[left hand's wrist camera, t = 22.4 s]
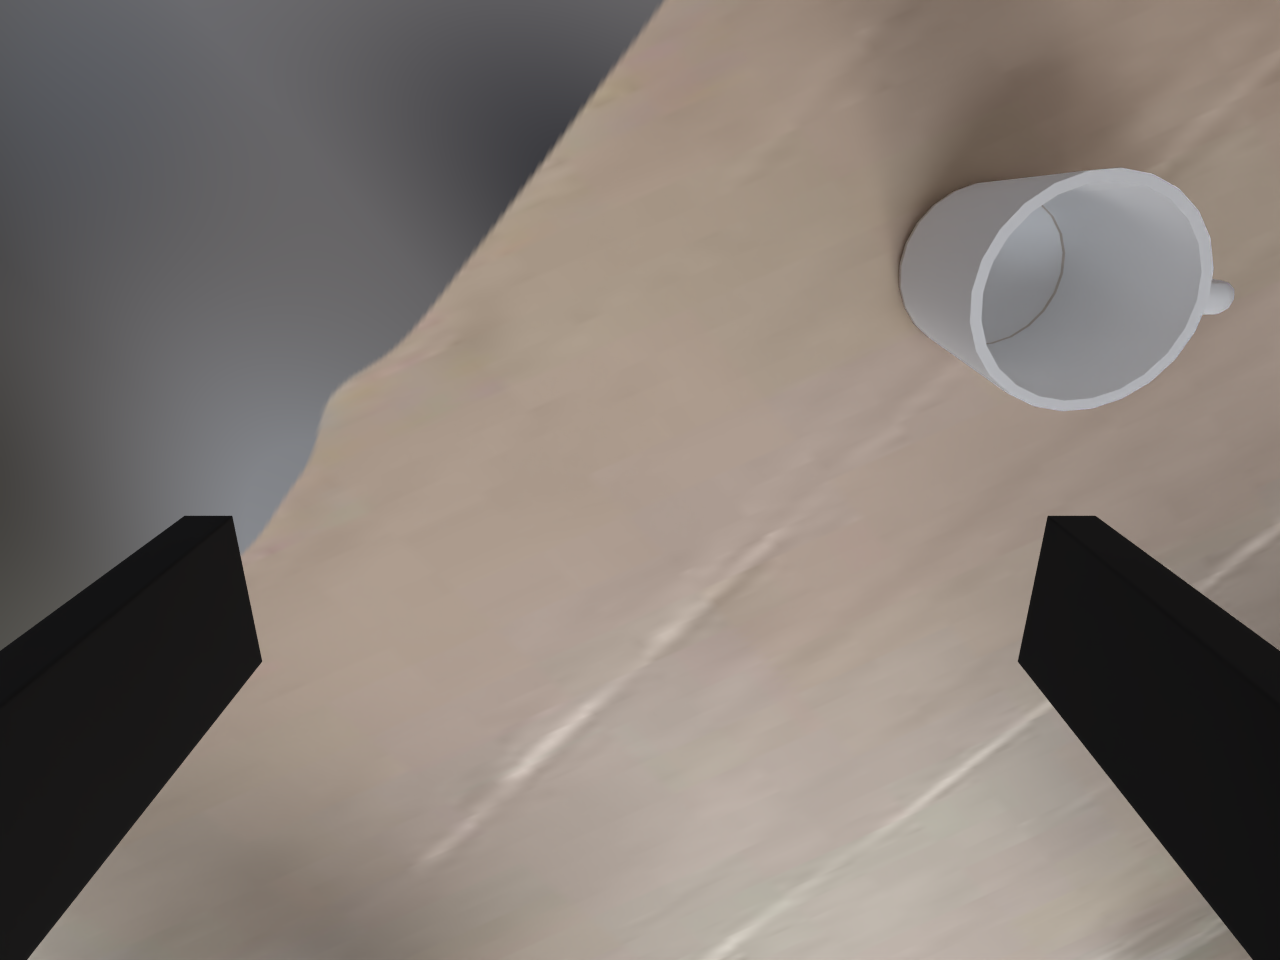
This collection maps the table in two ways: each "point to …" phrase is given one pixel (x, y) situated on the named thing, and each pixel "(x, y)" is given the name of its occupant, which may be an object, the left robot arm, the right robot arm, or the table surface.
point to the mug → (1063, 282)
